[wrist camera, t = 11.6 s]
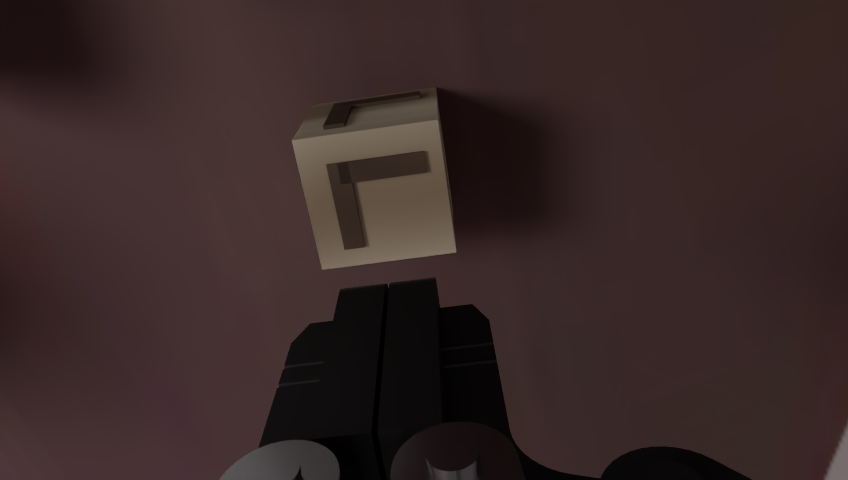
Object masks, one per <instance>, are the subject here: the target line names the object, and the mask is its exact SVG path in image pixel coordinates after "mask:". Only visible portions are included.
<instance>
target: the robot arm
mask: <svg viewBox="0 0 848 480" xmlns="http://www.w3.org/2000/svg"><path fill="white" fill-rule="evenodd" d="M220 480H752V479H750V478H748V477H746V476H744V475H742V474H740V473H738V472H736V471H734V470H732V469H730V468H728V467H726V466H725V465H723V464H721V463H719V462H717V461H715V460H713V459H711V458H709V457H706V456H704V455H702V454H699V453H696V452H693V451H690V450H686V449H681V448H675V447H648V448H641V449H637V450H634V451H630V452H628V453H626V454H624V455H622V456H620V457H618V458H617V459H616V460H614V461H613V462H612V463H611V464H610V465H609V466H608V467H607V468H606V469H605V471H604V472H603V474H602V476H601V479H600V478H593V477H586V476H579V475H572V474H567V473H562V472H559V471H555V470H552V469H549V468H547V467H545V466H543V465H540V464H538V463H537V462H535V461H534V460H532V459H530V458H529V457H528V456H527V455H525V454H524V453H523V452H522V451H521V450H520V449H519V447H518V446H517V445H516V443H515V442H514V440H513V438H512V435H511V432H510V429H509V423H508V418H507V413H506V407H505V402H504V397H503V391H502V386H501V381H500V376H499V370H498V365H497V361H496V354H495V349H494V345H493V338H492V333H491V328H490V323H489V320H488V319H487V318H486V317H485V316H484V315H483V314H482V313H481V312H480V311H479V310H478V309H477V308H476V307H475V306H474V305H473V304H469V305H461V306H452V307H444V308H440V304H439V297H438V290H437V283H436V278H435V277H434V278H426V279H418V280H410V281H401V282H393V283H390V284H389V288H388V285H387V284H378V285H370V286H361V287H353V288H345V289H341V290H340V292H339V296H338V301H337V305H336V310H335V314H334V319H333V321H328V322H320V323H311V324H309V325H308V327H307V328H306V329H305V330H304V331H303V332H302V333H301V334H300V335H299V336H298V337H297V338H296V339H295V340H294V341H293V342H292V343H291V346H290V349H289V352H288V356H287V359H286V362H285V369H283V372H282V375H281V378H280V381H279V388H277V391H276V394H275V397H274V400H273V403H272V407H271V410H270V413H269V416H268V419H267V423H266V426H265V429H264V432H263V435H262V439H261V442H260V445H259V448H258V449H256V450H254V451H252V452H250V453H249V454H247V455H245V456H244V457H242V458H241V459H239V460H238V461H237V462H235V463H234V464H233V465H232V466H231V467H230V468H229V469H228V470H227V471H226V472H225V473H224V475H223V476H222V477H221V478H220Z"/></svg>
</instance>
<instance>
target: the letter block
mask: <svg viewBox="0 0 848 480" xmlns="http://www.w3.org/2000/svg"><path fill="white" fill-rule="evenodd" d="M292 144H293V148H294V152H295V156H296V160H297V165H298V169H299V173H300V177H301V182H302V186H303V190H304V194H305V198H306V203H307V207H308V211H309V215H310V220H311V224H312V228H313V232H314V236H315V241H316V245H317V249H318V253H319V258H320V262H321V266H322V270H324V269H331V268H339V267H347V266H355V265H362V264H370V263H378V262H386V261H394V260H401V259H409V258H417V257H425V256H432V255H440V254H448V253H456V242H455V232H454V221H453V210H452V200H451V193H450V185H449V178H448V171H447V164H446V156H445V149H444V142H443V134H442V127H441V120H440V113H439V105H438V98H437V91H436V87H434V88H427V89H420V90H413V91H406V92H399V93H393V94H386V95H379V96H372V97H365V98H358V99H351V100H344V101H338V102H331V103H324V104H317V105H313V107H312V108H311V110H310V112H309V113H308V115H307V116H306V118H305V120H304V121H303V123H302V125H301V126H300V128H299V129H298V131H297V133H296V134H295V136H294V137H293V139H292Z"/></svg>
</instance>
